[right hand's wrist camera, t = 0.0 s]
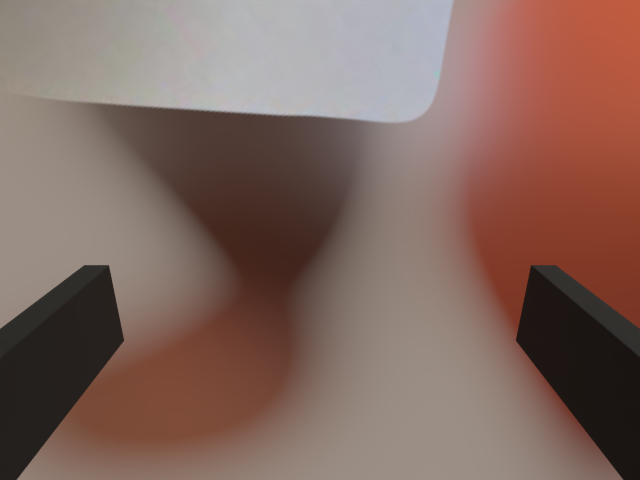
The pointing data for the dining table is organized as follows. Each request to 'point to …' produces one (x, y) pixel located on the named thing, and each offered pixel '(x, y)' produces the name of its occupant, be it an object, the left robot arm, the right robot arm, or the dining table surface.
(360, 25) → the dining table surface
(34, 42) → the dining table surface
